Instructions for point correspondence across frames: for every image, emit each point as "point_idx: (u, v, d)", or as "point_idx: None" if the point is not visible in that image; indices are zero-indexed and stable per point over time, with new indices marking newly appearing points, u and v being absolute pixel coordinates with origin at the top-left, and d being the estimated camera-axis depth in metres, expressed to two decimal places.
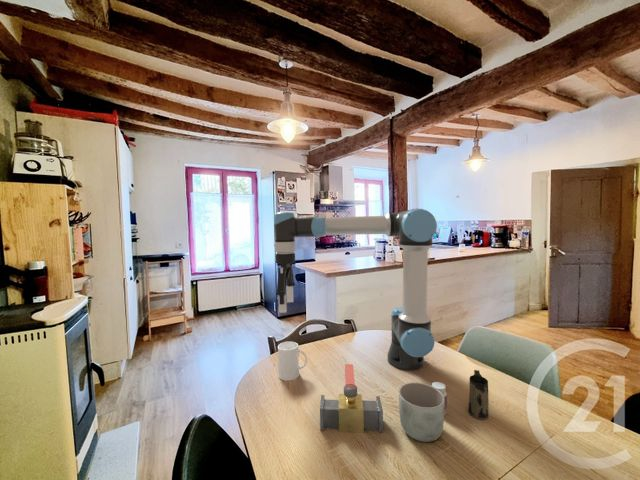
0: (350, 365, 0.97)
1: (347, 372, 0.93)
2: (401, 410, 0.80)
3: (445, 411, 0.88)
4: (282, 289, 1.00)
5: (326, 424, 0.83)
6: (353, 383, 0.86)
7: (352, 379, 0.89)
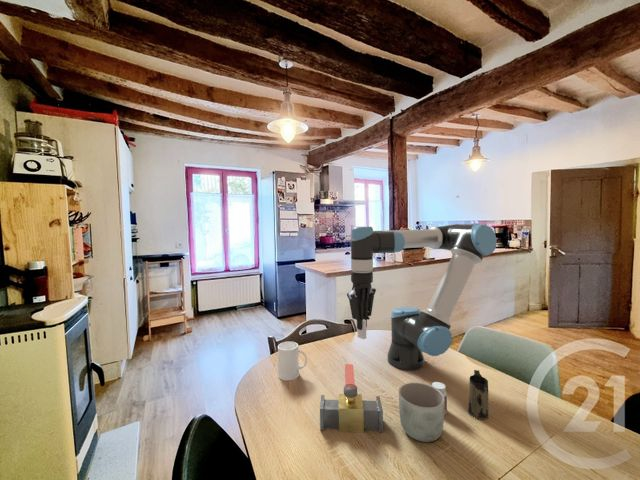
0: (350, 365, 0.97)
1: (347, 372, 0.93)
2: (401, 410, 0.80)
3: (445, 411, 0.88)
4: (356, 315, 0.96)
5: (326, 424, 0.83)
6: (353, 383, 0.86)
7: (352, 379, 0.89)
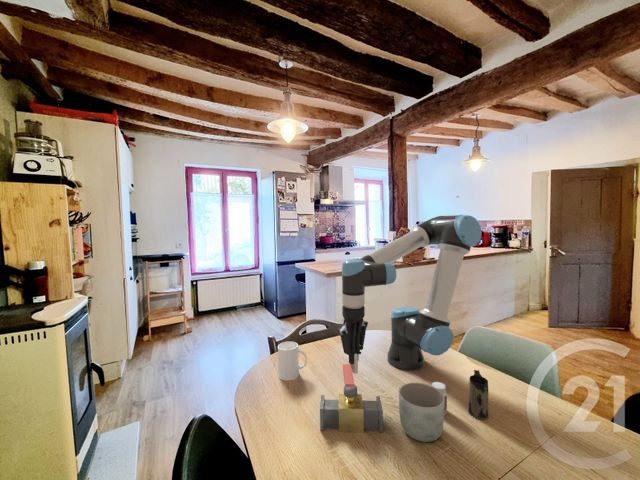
0: (348, 365, 0.97)
1: (346, 372, 0.93)
2: (401, 410, 0.80)
3: (445, 411, 0.88)
4: (347, 351, 0.94)
5: (326, 424, 0.83)
6: (353, 383, 0.86)
7: (351, 379, 0.89)
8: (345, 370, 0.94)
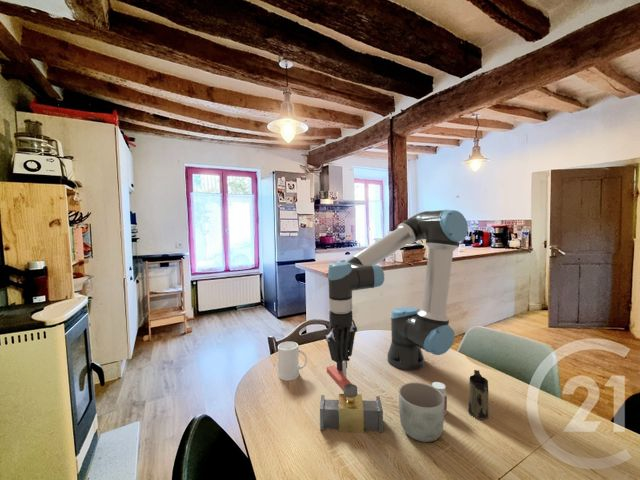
0: (332, 366, 0.96)
1: (335, 374, 0.92)
2: (401, 410, 0.80)
3: (445, 411, 0.88)
4: (334, 358, 0.90)
5: (326, 424, 0.83)
6: (349, 383, 0.86)
7: (345, 379, 0.89)
8: (333, 372, 0.93)
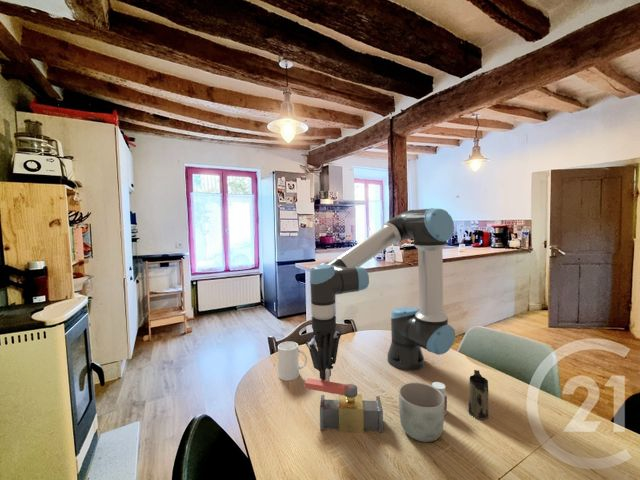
0: (309, 379, 0.89)
1: (322, 384, 0.86)
2: (401, 410, 0.80)
3: (445, 411, 0.88)
4: (317, 366, 0.86)
5: (326, 424, 0.83)
6: (344, 384, 0.86)
7: (336, 383, 0.86)
8: (318, 383, 0.86)
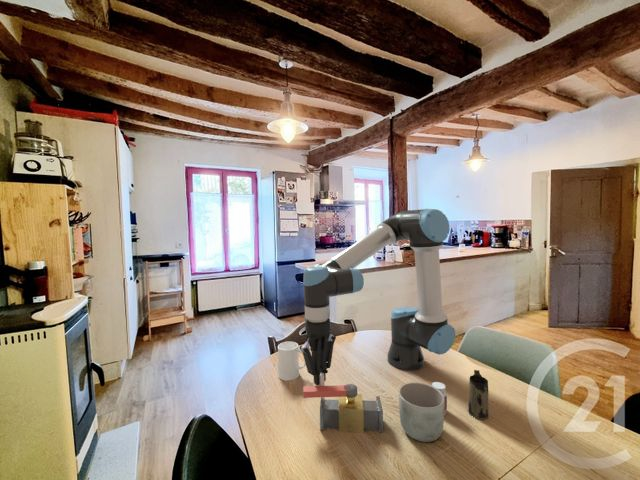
0: (306, 387, 0.84)
1: (321, 389, 0.83)
2: (401, 410, 0.80)
3: (445, 411, 0.88)
4: (311, 371, 0.83)
5: (326, 424, 0.83)
6: (342, 385, 0.85)
7: (335, 386, 0.85)
8: (317, 390, 0.83)
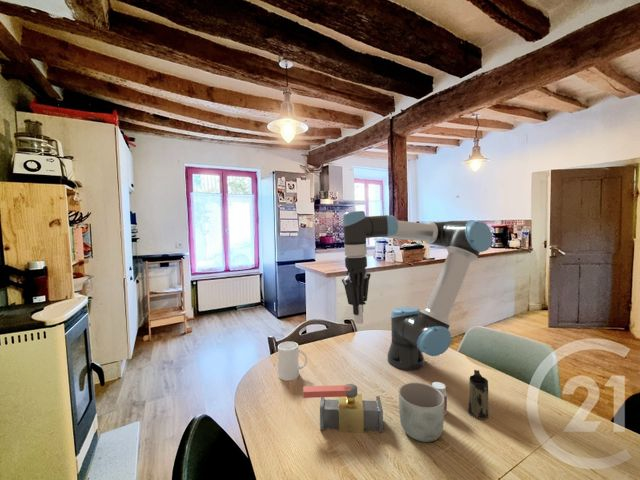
0: (306, 387, 0.84)
1: (321, 389, 0.83)
2: (401, 410, 0.80)
3: (445, 411, 0.88)
4: (351, 301, 0.95)
5: (326, 424, 0.83)
6: (342, 385, 0.85)
7: (335, 386, 0.85)
8: (317, 390, 0.83)
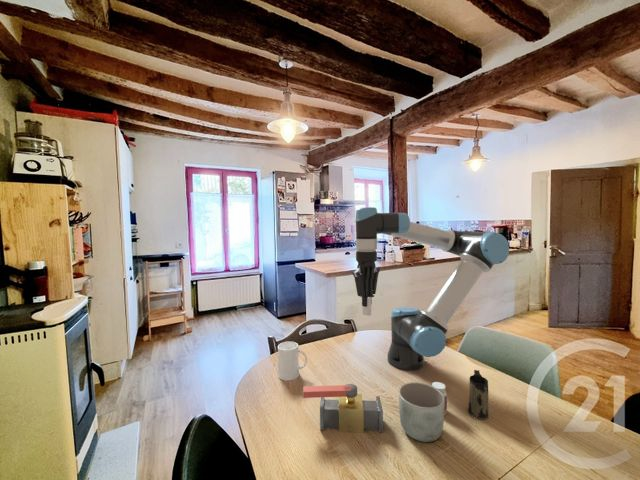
0: (306, 387, 0.84)
1: (321, 389, 0.83)
2: (401, 410, 0.80)
3: (445, 411, 0.88)
4: (361, 293, 1.00)
5: (326, 424, 0.83)
6: (342, 385, 0.85)
7: (335, 386, 0.85)
8: (317, 390, 0.83)
